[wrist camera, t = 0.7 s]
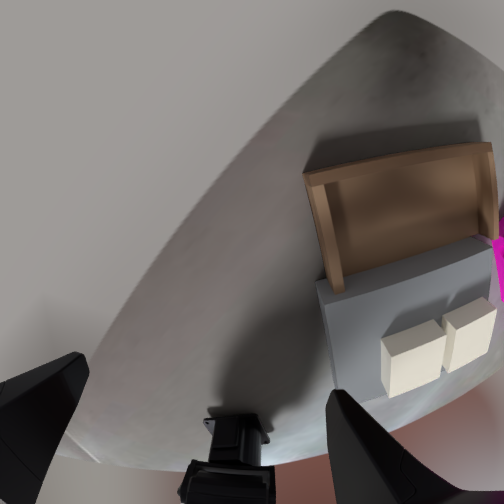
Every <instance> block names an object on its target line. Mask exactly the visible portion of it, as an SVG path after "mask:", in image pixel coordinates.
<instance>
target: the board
mask: <svg viewBox="0 0 504 504" xmlns="http://www.w3.org/2000/svg"><path fill="white" fill-rule="evenodd" d="M492 255H493V247H491V246H489V245H487V244H485V243H483V242H481V241H479V240H477V239H475V238H473V237H471V236H470V237H468V238H465V239H462V240H459V241H456V242H454V243H451V244H448V245H445V246H442V247H439V248H436V249H433V250H430V251H427V252H424V253H421V254H418V255H415V256H412V257H409V258H406V259H402V260H399V261H396V262H393V263H390V264H386V265H383V266H380V267H376V268H373V269H370V270H366V271H363V272H359V273H356V274H353V275H349V276H346V277H343V281H344V287H345V292H343V293H340V294H336V295H335V294H334V292H333V290H332V288H331V286H330V284H329V282H328V280H327V278H326V279H322V280H319V281H315V284H316V289H317V294H318V299H319V303H320V308H321V313H322V318H323V324H324V329H325V334H326V340H327V345H328V351H329V357H330V363H331V369H332V375H333V381H334V385H335V389H344V390H346V391H347V392H348V393H349V394H350V395H351V396H352V397H353V398H354V399H355V400H356V401H357V402H358V403H362V402H365V401H368V400H371V399H374V398H377V397H380V396H383V395H386V394H387V392H386V390H385V388H384V385H383V383H382V381H381V338H384V337H387V336H390V335H393V334H396V333H398V332H401V331H404V330H407V329H409V328H412V327H415V326H417V325H420V324H422V323H425V322H427V321H430V320H432V319H434V321H435V322H436V323H437V324H438V325H439V326H440V327H441V324H442V315H444V314H446V313H448V312H451V311H453V310H455V309H457V308H460V307H462V306H464V305H466V304H468V303H470V302H472V301H474V300H476V299H478V298H480V297H484V298H485V299H486V300H487V301H488V297H489V290H490V281H491V270H492ZM444 370H445V368H444V367H443V365H442V367H441V372H442V371H444Z"/></svg>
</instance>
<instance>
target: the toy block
mask: <svg viewBox="0 0 504 504" xmlns="http://www.w3.org/2000/svg"><path fill="white" fill-rule="evenodd" d="M491 240H492V239H491ZM492 245H493V249H494V254H495V259H496V265H497V271H498V277H499V284H500V292H501V300H502V301H503V302H504V217H503V218H502V219H501V220H500V221H499V239H496V240H492Z"/></svg>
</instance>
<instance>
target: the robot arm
mask: <svg viewBox="0 0 504 504" xmlns="http://www.w3.org/2000/svg"><path fill="white" fill-rule="evenodd" d="M88 377H89V367H88V364H87V362H86V358H85V356H84V354H82V353H79V352H72V353H70V354H67V355H65V356H63V357H60V358H58V359H56V360H53V361H51V362H49V363H46V364H44V365H42V366H39V367H37V368H35V369H33V370H30V371H28V372H25V373H23V374H20V375H18V376H16V377H13V378H11V379H8V380H6V381H4V382H1V383H0V504H35V503H36V499H37V497H38V494H39V492H40V489H41V486H42V484H43V481H44V478H45V475H46V473H47V471H48V468H49V466H50V463H51V461H52V459H53V456H54V454H55V452H56V450H57V447H58V445H59V443H60V441H61V438H62V436H63V434H64V432H65V430H66V428H67V426H68V424H69V422H70V419H71V417H72V415H73V413H74V411H75V409H76V407H77V405H78V403H79V400H80V397H81V395H82V392H83V389H84V387H85V384H86V382H87V379H88ZM203 423H204V425H205V426H206V428H207V429H208V430H209V432H210V433H211V435H212V442H211V447H210V453H209V458H208V462H203V461H197V460H194V459H192V461H191V464H189V465H188V468H187V471H186V474H185V477H184V479H183V482H182V484H181V485H180V487H179V488H178V491H177V493H178V495H179V496H180V498H181V504H276V486H275V467H274V466H261V445H263V444H269V443H270V438H269V436H268V435H267V433H266V431H265V429H264V427H263V425H262V423H261V421H260V419H259V417H258V415H257V414H246V415H237V416H228V417H216V418H205V419H204V420H203ZM326 428H327V446H328V453H329V459H330V464H331V471H332V477H333V483H334V489H335V496H336V501H337V504H504V491H467V490H462V489H459V488H457V487H455V486H453V485H452V484H450V483H449V482H447V481H446V480H444V479H443V478H441V477H440V476H438V475H437V474H435V473H434V472H433V471H431V470H430V469H429V468H427V467H426V466H424V465H423V464H422V463H421V462H420V461H418V460H417V459H416V458H415V457H414V456H413V455H412V454H411V453H409V452H408V451H407V450H406V449H404V447H403V446H402V445H401V444H400V443H399V442H398V441H396V440H395V438H394V437H392V436H391V435H390V434H389V433H388V432H387V431H386V430H385V429H384V428H383V427H382V426H381V425H380V424H379V423H378V422H377V421H376V420H375V419H374V418H373V417H372V416H371V415H370V414H369V413H368V412H367V411H366V410H365V409H364V408H363V407H362V406H361V405H360V404H359V403H358V402H357V401H356V400H355V399H354V398H353V397H352V396H351V395H350V394H349V393H348V392H347V391H346V390H344V389H334V390H332V391H331V393H330V396H329V399H328V401H327V404H326Z"/></svg>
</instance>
